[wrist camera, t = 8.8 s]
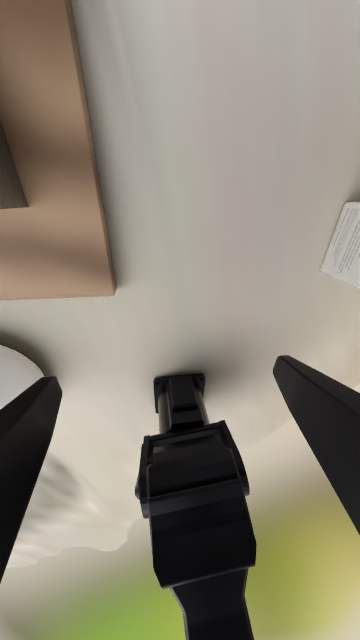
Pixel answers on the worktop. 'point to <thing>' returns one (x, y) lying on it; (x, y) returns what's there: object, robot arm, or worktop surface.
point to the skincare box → (345, 247)
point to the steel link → (9, 177)
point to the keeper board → (49, 160)
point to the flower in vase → (15, 374)
